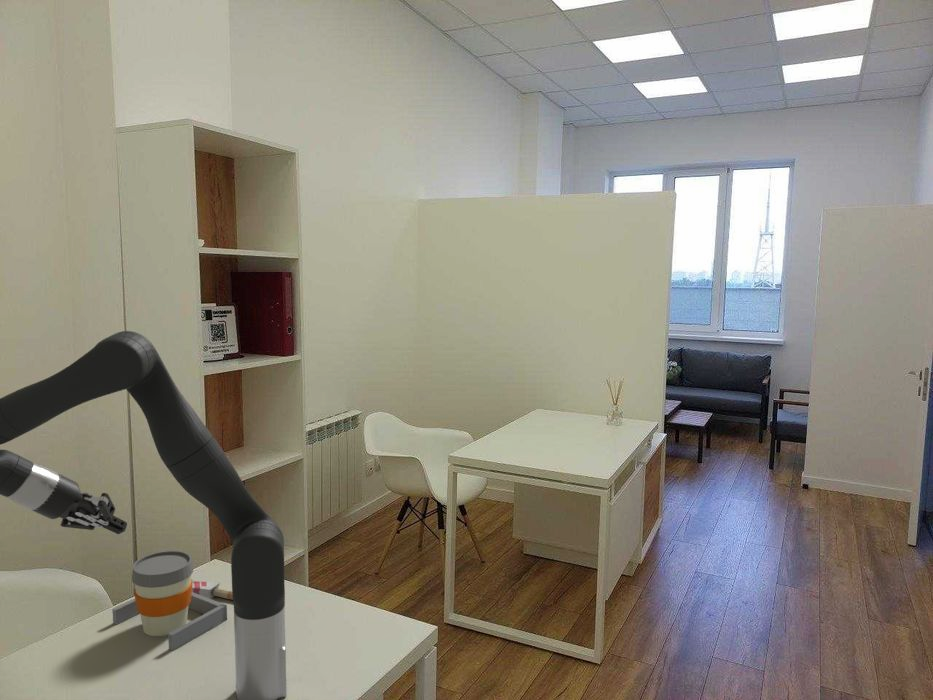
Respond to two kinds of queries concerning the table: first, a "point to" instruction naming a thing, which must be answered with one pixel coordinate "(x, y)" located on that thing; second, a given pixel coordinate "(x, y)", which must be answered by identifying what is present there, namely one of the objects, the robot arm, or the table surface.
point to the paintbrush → (210, 590)
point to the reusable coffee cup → (163, 590)
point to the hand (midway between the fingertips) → (123, 528)
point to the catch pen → (189, 631)
